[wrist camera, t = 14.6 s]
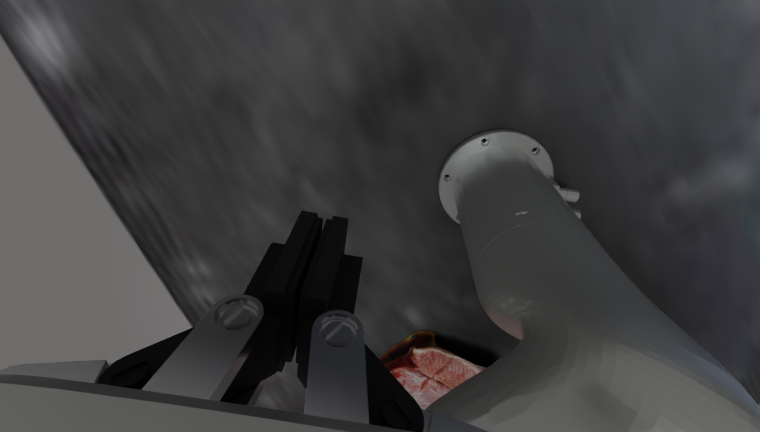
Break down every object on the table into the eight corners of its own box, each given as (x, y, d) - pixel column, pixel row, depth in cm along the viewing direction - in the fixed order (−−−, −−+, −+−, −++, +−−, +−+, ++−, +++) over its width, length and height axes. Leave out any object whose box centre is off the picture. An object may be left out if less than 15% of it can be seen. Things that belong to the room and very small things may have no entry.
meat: (374, 402, 66) (370, 461, 58) (371, 326, 55) (365, 385, 47) (486, 408, 65) (498, 469, 56) (506, 331, 54) (525, 393, 45)
